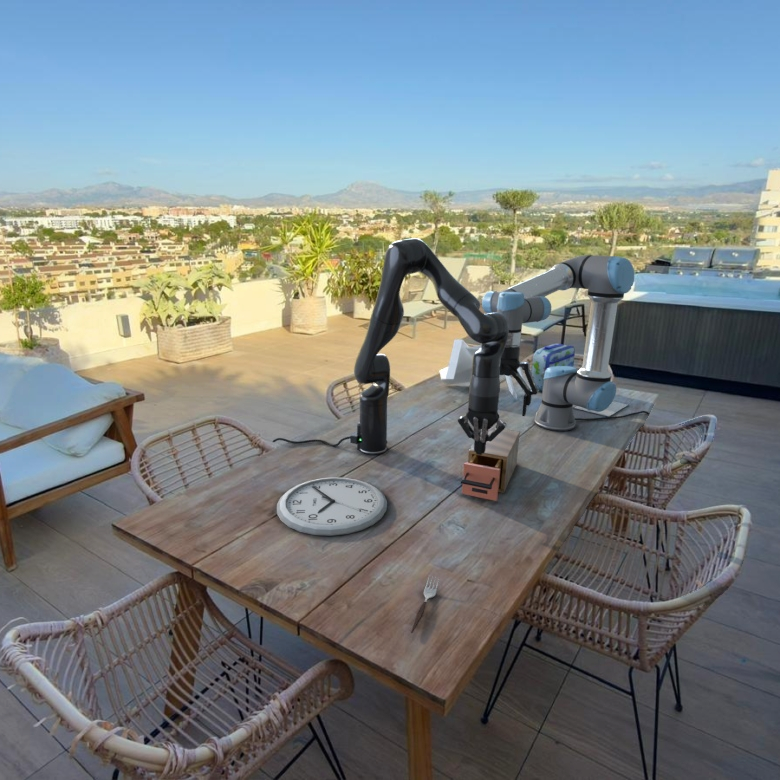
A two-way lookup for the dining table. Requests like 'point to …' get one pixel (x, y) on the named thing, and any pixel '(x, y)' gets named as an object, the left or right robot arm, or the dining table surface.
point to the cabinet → (502, 453)
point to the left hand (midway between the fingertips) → (479, 453)
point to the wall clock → (331, 506)
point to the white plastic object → (466, 366)
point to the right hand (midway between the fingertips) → (501, 411)
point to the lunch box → (550, 360)
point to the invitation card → (609, 411)
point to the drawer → (482, 477)
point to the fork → (428, 594)
